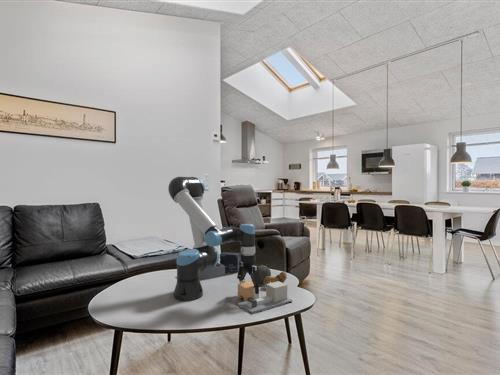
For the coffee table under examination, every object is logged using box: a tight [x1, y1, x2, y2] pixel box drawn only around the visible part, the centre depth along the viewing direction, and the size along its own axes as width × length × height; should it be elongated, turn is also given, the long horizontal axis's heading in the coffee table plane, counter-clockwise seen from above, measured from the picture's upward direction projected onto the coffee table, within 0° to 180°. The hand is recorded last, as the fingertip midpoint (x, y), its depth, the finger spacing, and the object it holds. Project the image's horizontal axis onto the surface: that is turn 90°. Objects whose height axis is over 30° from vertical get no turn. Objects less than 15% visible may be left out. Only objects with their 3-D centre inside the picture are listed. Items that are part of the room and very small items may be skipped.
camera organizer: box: [199, 262, 226, 281], centre depth 191 cm, size 16×22×6 cm
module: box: [237, 280, 254, 302], centre depth 151 cm, size 7×8×7 cm
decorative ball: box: [257, 265, 272, 284], centre depth 176 cm, size 10×10×10 cm
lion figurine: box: [260, 271, 287, 288], centre depth 166 cm, size 15×5×9 cm, turn 95°
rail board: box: [237, 281, 293, 315], centre depth 144 cm, size 12×24×8 cm, turn 124°
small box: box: [219, 251, 241, 273], centre depth 201 cm, size 13×7×12 cm, turn 74°
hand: (249, 296), depth 151 cm, fingers open, 12 cm apart
